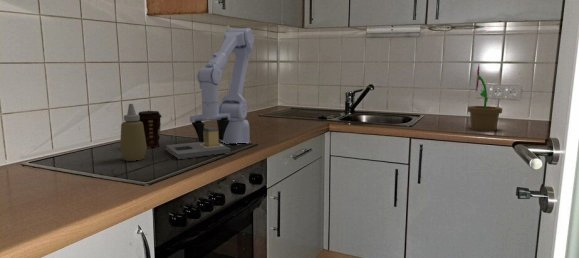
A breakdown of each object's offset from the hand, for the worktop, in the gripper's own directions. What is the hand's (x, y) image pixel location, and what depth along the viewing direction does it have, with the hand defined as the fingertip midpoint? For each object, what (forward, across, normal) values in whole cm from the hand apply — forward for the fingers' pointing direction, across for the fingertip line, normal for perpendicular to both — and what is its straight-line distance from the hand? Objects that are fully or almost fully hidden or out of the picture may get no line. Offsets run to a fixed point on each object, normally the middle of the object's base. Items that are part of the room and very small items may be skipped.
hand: (211, 140), depth 147 cm
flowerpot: (+4, -122, +33) cm, 126 cm away
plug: (+4, 0, 0) cm, 4 cm away
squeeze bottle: (+4, +26, -3) cm, 26 cm away
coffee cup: (+4, +15, -20) cm, 25 cm away
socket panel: (+4, +5, -1) cm, 6 cm away
